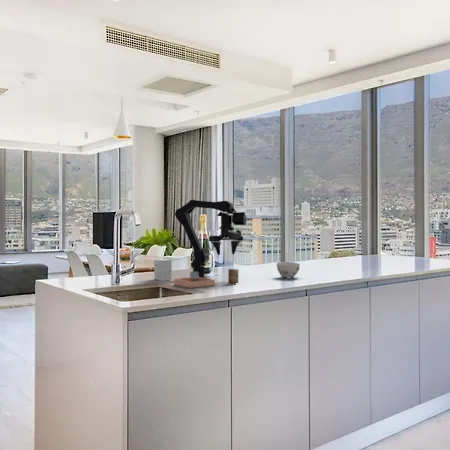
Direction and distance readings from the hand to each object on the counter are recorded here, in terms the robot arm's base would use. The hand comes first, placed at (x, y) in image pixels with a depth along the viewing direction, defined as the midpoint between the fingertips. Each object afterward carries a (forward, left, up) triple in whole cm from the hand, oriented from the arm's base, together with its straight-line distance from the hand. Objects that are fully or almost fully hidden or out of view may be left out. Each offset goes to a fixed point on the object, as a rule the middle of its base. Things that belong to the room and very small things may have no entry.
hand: (226, 254), depth 271 cm
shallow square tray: (+8, -26, -13) cm, 30 cm away
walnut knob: (+13, -6, -13) cm, 20 cm away
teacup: (+12, +34, -13) cm, 39 cm away
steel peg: (+8, -26, -12) cm, 30 cm away
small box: (-18, -28, -13) cm, 35 cm away
